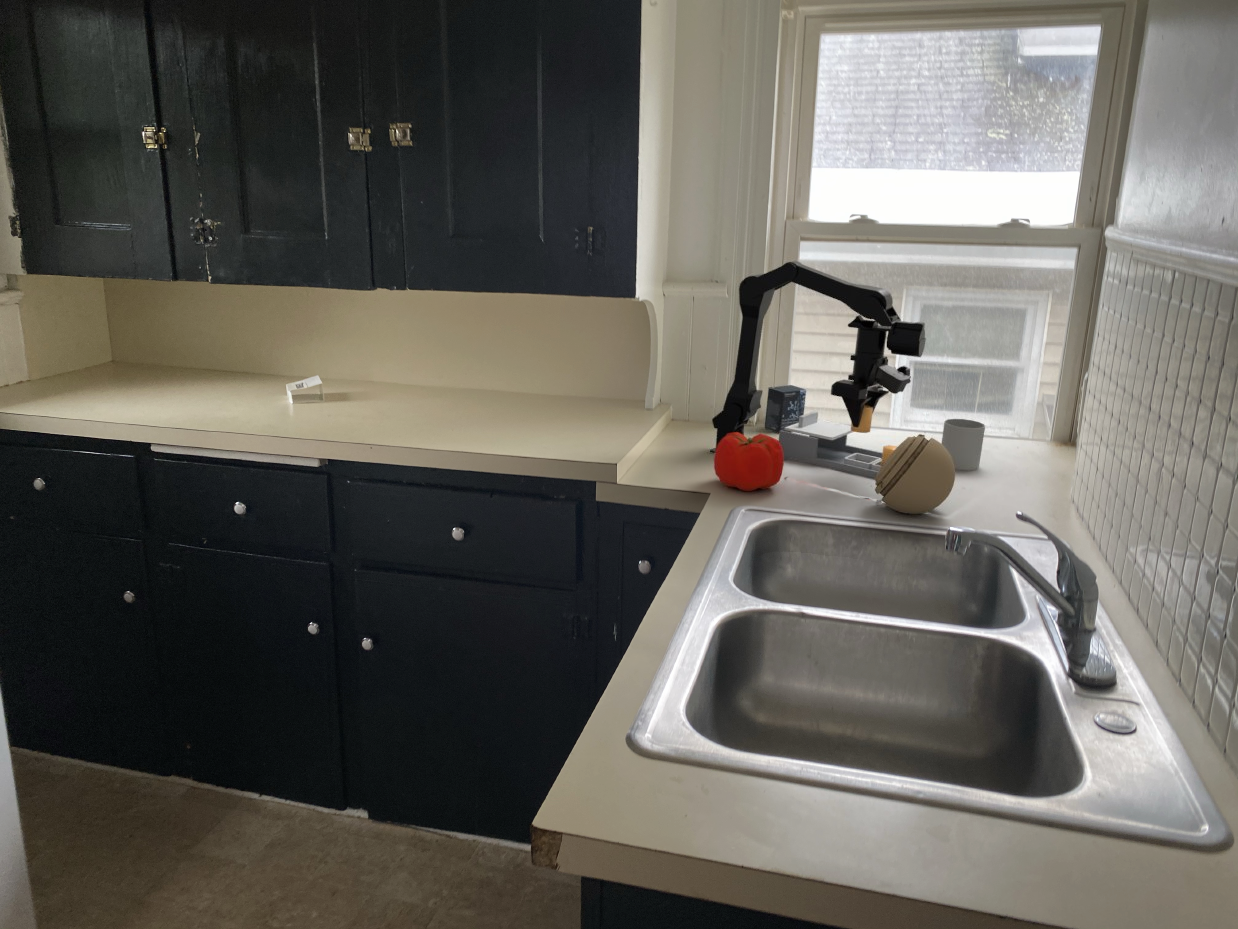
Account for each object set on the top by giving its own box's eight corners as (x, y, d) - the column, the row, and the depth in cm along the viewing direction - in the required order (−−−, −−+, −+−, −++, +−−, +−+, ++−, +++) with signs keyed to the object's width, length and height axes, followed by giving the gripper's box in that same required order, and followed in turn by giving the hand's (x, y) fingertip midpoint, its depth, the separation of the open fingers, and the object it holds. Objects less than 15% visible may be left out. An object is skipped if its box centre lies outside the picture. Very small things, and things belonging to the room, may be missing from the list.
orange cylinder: (894, 474, 202) (897, 452, 201) (877, 470, 204) (880, 447, 203) (902, 470, 205) (905, 448, 203) (885, 466, 207) (888, 444, 206)
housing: (888, 484, 197) (892, 455, 196) (777, 457, 213) (779, 430, 211) (917, 469, 209) (921, 442, 207) (809, 445, 224) (812, 419, 222)
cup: (980, 465, 213) (986, 422, 211) (976, 475, 206) (983, 430, 203) (940, 459, 217) (946, 416, 214) (936, 469, 210) (942, 424, 207)
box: (779, 434, 233) (783, 391, 230) (763, 428, 238) (767, 386, 235) (803, 430, 238) (807, 388, 235) (787, 425, 242) (791, 384, 239)
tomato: (705, 490, 189) (708, 439, 186) (723, 472, 201) (726, 424, 198) (773, 501, 184) (777, 448, 181) (787, 482, 196) (792, 433, 193)
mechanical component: (916, 496, 191) (926, 423, 186) (966, 521, 177) (978, 443, 173) (852, 502, 186) (860, 427, 181) (898, 528, 172) (909, 448, 168)
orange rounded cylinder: (864, 433, 197) (867, 410, 196) (847, 430, 200) (849, 406, 198) (873, 430, 200) (876, 407, 199) (856, 426, 202) (858, 403, 201)
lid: (832, 440, 205) (833, 426, 204) (784, 430, 212) (785, 416, 211) (858, 430, 214) (859, 417, 213) (811, 420, 221) (813, 407, 220)
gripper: (885, 362, 183) (875, 441, 188) (926, 352, 197) (916, 425, 201) (833, 353, 190) (825, 429, 195) (876, 344, 204) (867, 415, 208)
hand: (860, 425), depth 200 cm, fingers closed on orange rounded cylinder, 4 cm apart
